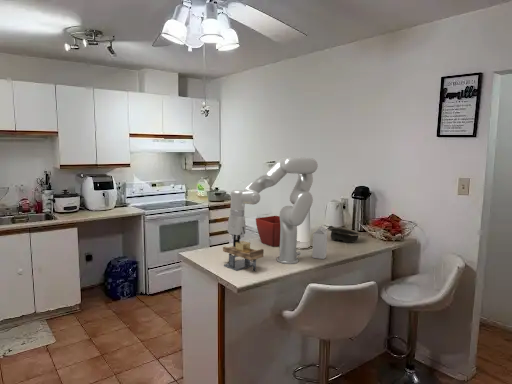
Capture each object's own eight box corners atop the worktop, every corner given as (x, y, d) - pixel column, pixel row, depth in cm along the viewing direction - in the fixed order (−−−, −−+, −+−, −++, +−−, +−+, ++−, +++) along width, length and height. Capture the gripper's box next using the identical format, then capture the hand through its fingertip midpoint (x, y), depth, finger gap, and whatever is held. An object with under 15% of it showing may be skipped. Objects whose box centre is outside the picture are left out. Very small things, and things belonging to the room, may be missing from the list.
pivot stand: (219, 264, 195) (219, 252, 194) (238, 259, 205) (238, 247, 204) (245, 274, 181) (245, 261, 180) (264, 268, 191) (265, 256, 190)
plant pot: (272, 249, 228) (273, 223, 226) (254, 242, 243) (254, 218, 241) (294, 244, 240) (295, 220, 238) (275, 238, 255) (276, 215, 253)
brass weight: (235, 251, 191) (235, 242, 190) (242, 249, 195) (242, 240, 194) (243, 253, 187) (243, 244, 186) (249, 252, 190) (250, 242, 190)
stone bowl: (320, 239, 255) (321, 226, 254) (337, 236, 274) (338, 224, 274) (352, 246, 239) (354, 232, 239) (368, 242, 258) (369, 229, 258)
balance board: (223, 251, 196) (223, 244, 196) (235, 248, 202) (235, 241, 202) (251, 260, 181) (251, 252, 180) (263, 256, 187) (263, 249, 187)
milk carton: (312, 257, 212) (313, 226, 210) (314, 254, 218) (316, 224, 216) (324, 259, 209) (325, 227, 207) (326, 256, 216) (327, 225, 214)
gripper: (223, 211, 195) (222, 244, 197) (241, 216, 184) (240, 250, 187) (233, 210, 200) (232, 242, 202) (252, 214, 190) (250, 248, 192)
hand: (236, 246), depth 194 cm, fingers closed
